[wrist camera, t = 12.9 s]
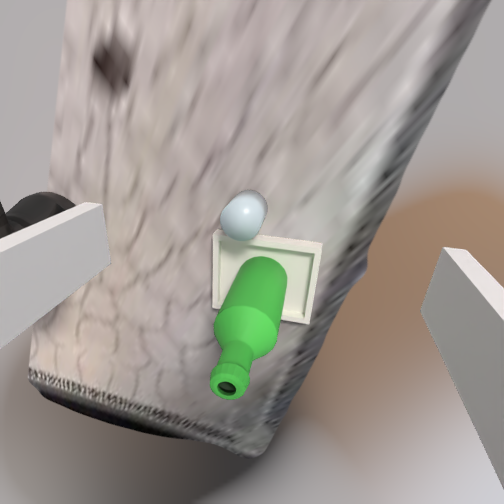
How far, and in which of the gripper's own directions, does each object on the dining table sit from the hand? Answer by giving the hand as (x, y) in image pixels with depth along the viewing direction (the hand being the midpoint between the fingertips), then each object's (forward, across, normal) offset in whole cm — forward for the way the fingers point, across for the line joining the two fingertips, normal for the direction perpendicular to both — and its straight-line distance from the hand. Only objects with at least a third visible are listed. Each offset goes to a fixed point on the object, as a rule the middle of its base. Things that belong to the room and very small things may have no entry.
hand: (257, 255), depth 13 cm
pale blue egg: (+39, -8, -11) cm, 41 cm away
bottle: (+38, -4, -23) cm, 45 cm away
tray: (+39, -4, -23) cm, 45 cm away
